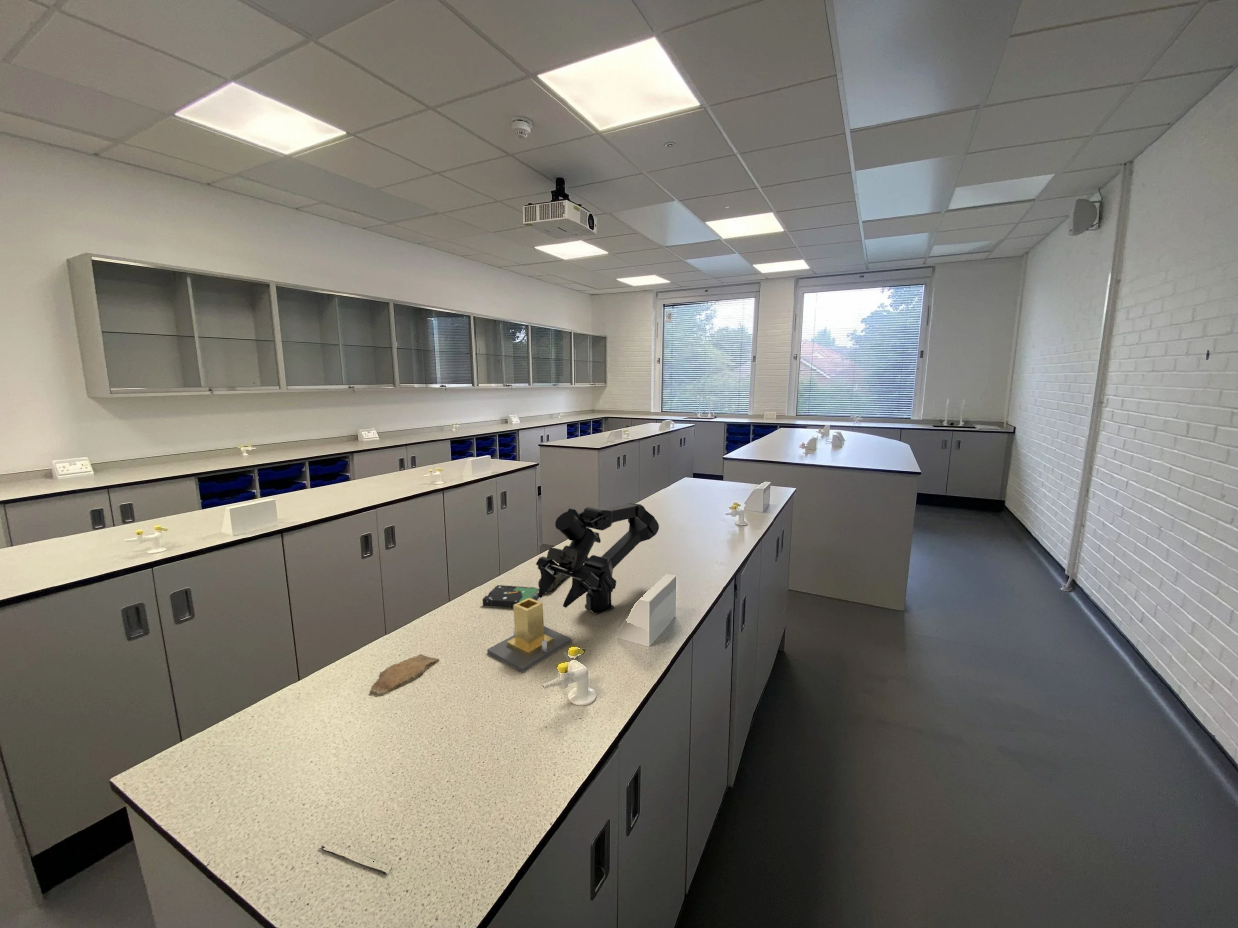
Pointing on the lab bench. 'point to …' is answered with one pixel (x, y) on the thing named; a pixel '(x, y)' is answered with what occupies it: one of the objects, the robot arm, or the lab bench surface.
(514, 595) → the disk drive
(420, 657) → the pottery shard
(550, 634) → the base plate
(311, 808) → the lab bench surface
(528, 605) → the brass sleeve
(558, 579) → the bomb
